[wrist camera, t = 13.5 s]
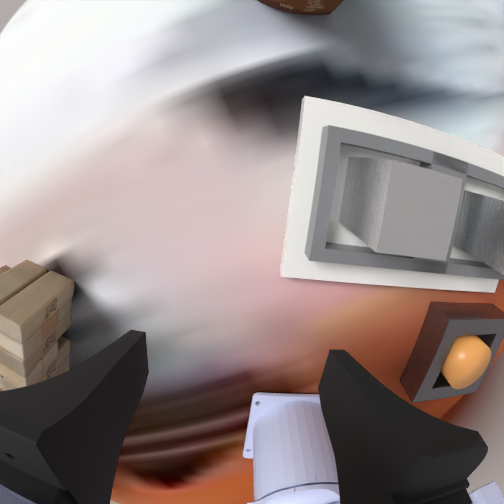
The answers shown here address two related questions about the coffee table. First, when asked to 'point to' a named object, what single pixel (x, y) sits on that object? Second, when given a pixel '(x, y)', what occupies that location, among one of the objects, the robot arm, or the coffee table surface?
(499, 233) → the seated billet
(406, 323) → the coffee table surface
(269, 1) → the food container
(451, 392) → the button housing
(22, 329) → the block tower
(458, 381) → the button
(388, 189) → the billet
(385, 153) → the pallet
